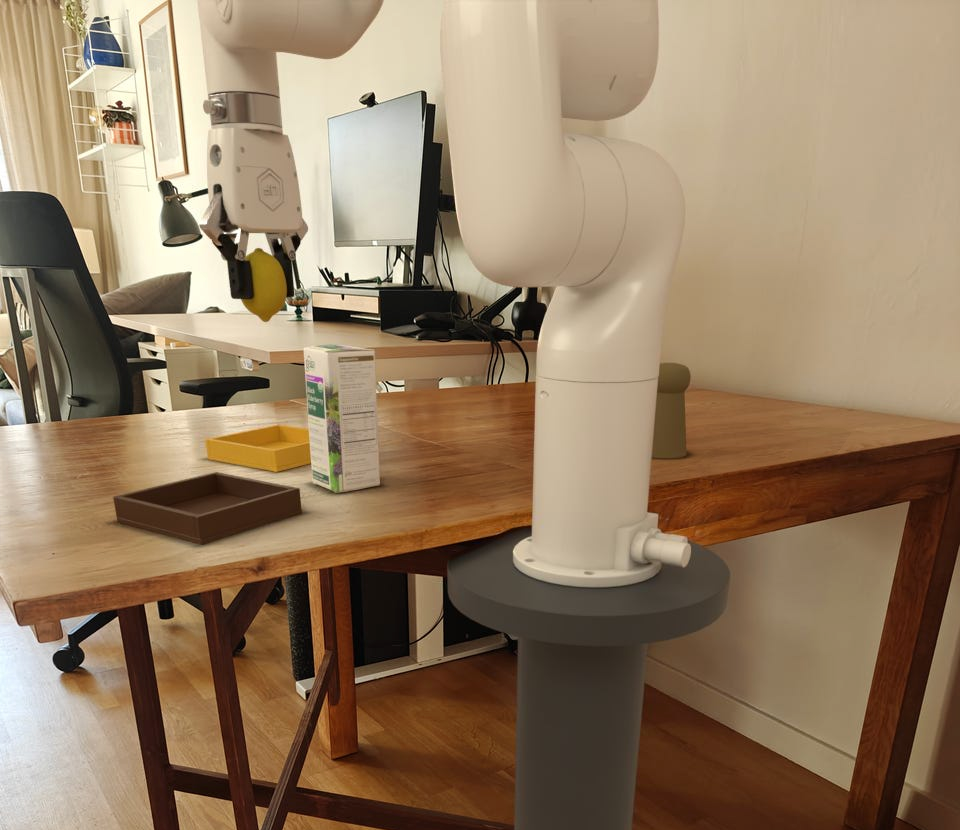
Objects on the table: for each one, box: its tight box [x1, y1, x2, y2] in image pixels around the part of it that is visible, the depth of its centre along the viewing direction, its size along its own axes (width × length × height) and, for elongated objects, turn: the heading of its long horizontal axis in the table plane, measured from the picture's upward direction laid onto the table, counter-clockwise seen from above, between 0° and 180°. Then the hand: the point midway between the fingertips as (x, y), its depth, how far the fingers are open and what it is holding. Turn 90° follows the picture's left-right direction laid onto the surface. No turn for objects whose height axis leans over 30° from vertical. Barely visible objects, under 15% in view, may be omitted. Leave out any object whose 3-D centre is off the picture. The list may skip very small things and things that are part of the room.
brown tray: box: [112, 471, 303, 545], centre depth 83 cm, size 12×12×2 cm
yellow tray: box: [204, 423, 311, 473], centre depth 108 cm, size 12×12×2 cm
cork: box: [652, 362, 692, 460], centre depth 108 cm, size 6×6×11 cm
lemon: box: [240, 247, 287, 323], centre depth 100 cm, size 6×6×8 cm
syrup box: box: [303, 344, 381, 494], centre depth 92 cm, size 6×6×14 cm
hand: (263, 296), depth 100 cm, fingers closed on lemon, 5 cm apart
